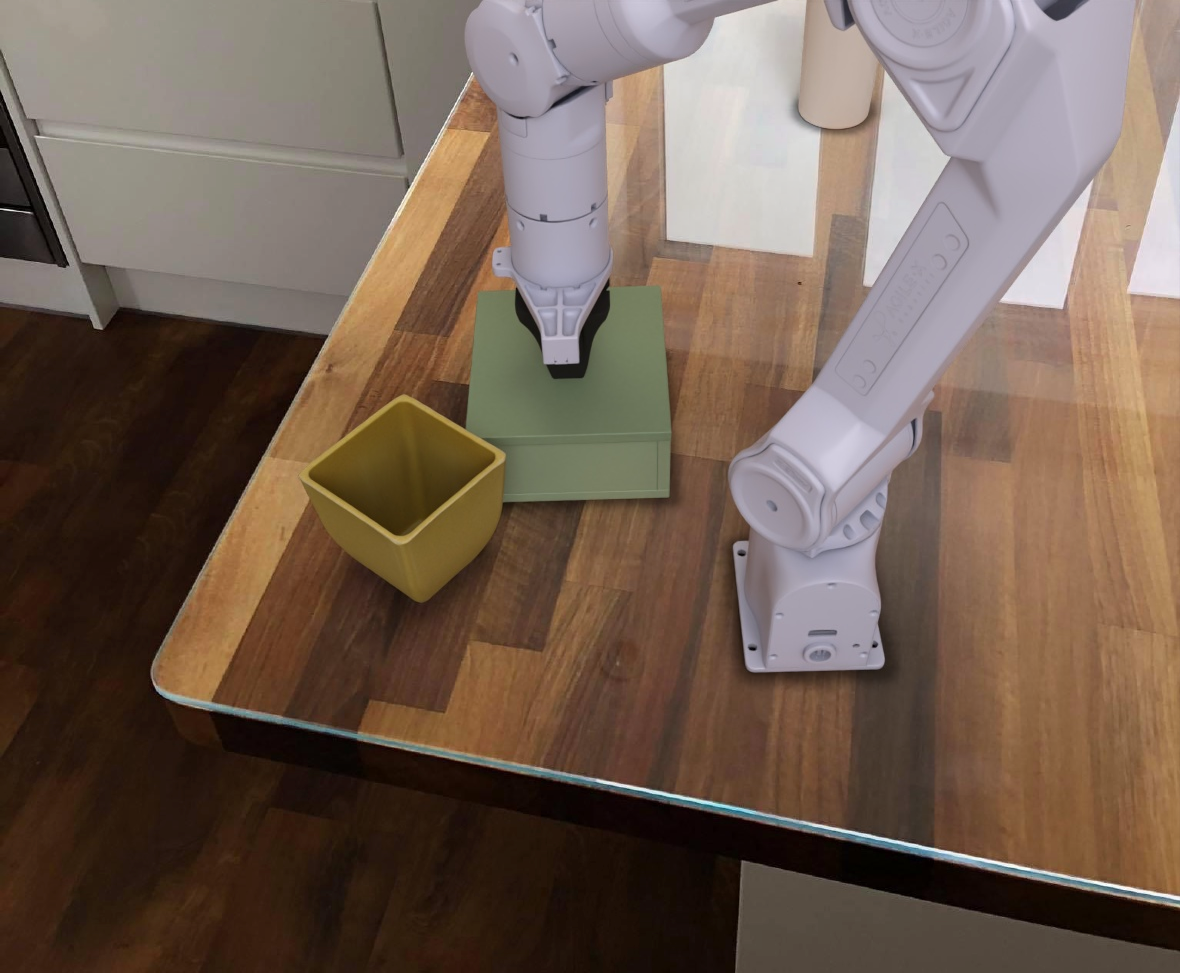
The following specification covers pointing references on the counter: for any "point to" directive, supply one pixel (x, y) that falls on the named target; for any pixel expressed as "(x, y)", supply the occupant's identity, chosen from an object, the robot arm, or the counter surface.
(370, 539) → the flower pot
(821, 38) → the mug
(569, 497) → the bread box
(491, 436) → the bread lid
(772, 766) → the counter surface
